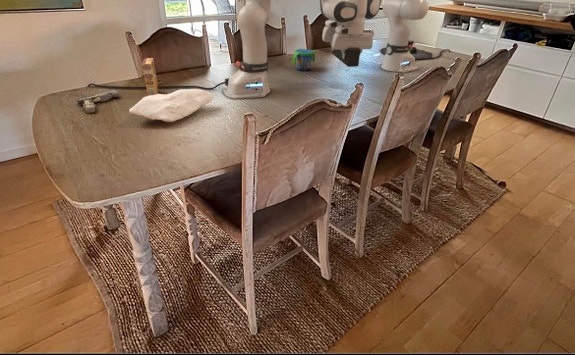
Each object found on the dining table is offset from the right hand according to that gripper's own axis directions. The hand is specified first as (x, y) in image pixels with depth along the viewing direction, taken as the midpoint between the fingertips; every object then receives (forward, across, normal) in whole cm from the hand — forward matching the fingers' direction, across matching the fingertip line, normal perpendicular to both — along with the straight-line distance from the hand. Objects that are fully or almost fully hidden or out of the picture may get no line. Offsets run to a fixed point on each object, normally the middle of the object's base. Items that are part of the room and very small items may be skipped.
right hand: (339, 50), depth 195 cm
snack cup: (+14, +16, -14) cm, 25 cm away
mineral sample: (+14, -65, -44) cm, 80 cm away
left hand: (0, 0, +17) cm, 17 cm away
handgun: (+14, +116, +30) cm, 121 cm away
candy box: (+14, +96, +21) cm, 99 cm away
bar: (+3, 0, +8) cm, 9 cm away
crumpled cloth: (+14, +86, +44) cm, 98 cm away
